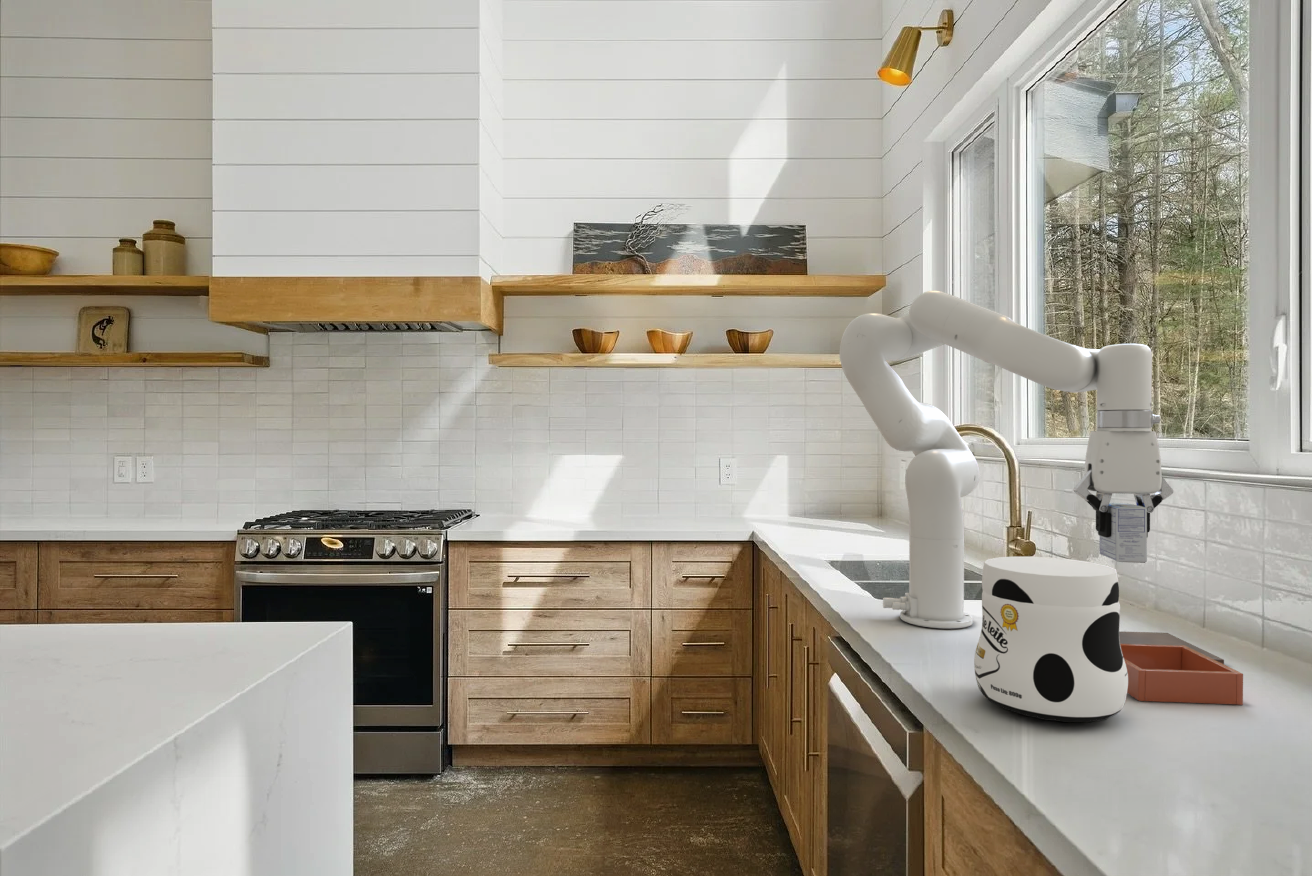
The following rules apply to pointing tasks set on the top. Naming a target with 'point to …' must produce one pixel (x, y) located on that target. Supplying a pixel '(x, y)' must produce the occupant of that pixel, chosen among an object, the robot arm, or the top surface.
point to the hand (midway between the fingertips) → (1122, 535)
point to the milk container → (1051, 638)
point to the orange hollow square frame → (1179, 675)
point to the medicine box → (1126, 534)
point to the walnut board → (1160, 641)
